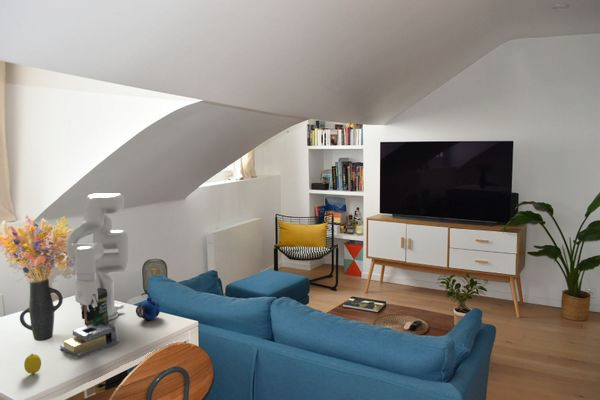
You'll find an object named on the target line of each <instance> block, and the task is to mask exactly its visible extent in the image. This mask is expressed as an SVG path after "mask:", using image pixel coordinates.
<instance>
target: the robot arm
mask: <svg viewBox="0 0 600 400" xmlns="http://www.w3.org/2000/svg"><path fill="white" fill-rule="evenodd" d="M124 207H125V197H124V195H123V194H121V193H92V194H91V193H90V194H88V195H87V196H86V198H85V210H84V215H83V220H82V221H83V222H82V223H80V224H79V225H77V227H75V228H74V229H73V231H72V232H71V233H70V235H69V236H68V240H67V247H66V255H67V258H68V259H69V260H70V261H74V263H75V285H74V286H75V290H74V294H75V296H74V297H75V302H76V303H79V306H80V310H81V319H82V320H84V305H86V306H87V312H86V314H87V321H90V320H94V319H95V314H94V310H95V308H96V307H97V306H98V305H97V302H98V292H97V289H98V288H104V289H106V290H107V295H108V298H107V313H108V320H109V321H111V320H113V319H116V318H118V316H119V310H121V309H124V308H125V306H124V304H115V291H114V288H115V287H114V279H113V278H112V276H111V274H109V273H123V272H126V271H127V270H128V267H129V237H128V233H127V232H126V230H123V229H115V230H114V229H113V220H112V218H111V217H110V215H109V214H111V215H112V214H113V215H115V214H119V213H121V212H122V210H124ZM90 235H92V242H89V241H88V242H85V241H84V242H81V239H83V238H85V237H87V236H90ZM115 250H116V251H117V252H105V251H115ZM91 302H92V303H91ZM90 305H92V306H90Z"/></svg>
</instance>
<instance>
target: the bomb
mask: <svg viewBox="0 0 600 400" xmlns="http://www.w3.org/2000/svg"><path fill="white" fill-rule="evenodd" d="M144 292H145V293H146V294H147V298H146V299H145V300H143V301H142V302H141V303H140V304H138V306H136V308H135V313H136V316H137V317H138V318H139V319H143V320H145V321H152V320H155V319H157V317H158V316H159V315H160V312H161V305H160V304H159V302H158V301H157V300H155V299H152V297H151V296H150V293H148V292H147V289H145V290H144Z"/></svg>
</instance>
